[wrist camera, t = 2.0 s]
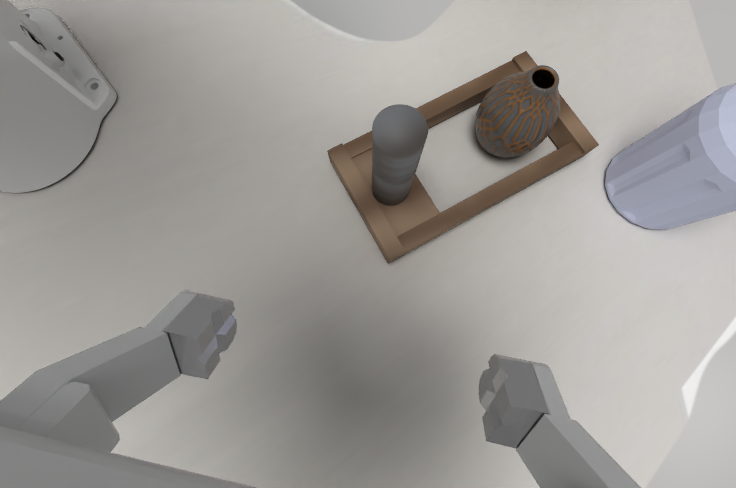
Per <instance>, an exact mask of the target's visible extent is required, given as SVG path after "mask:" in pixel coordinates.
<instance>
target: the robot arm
mask: <svg viewBox="0 0 736 488" xmlns="http://www.w3.org/2000/svg"><path fill="white" fill-rule="evenodd" d="M116 98H117V94H116V92H115V90H114V89H113V88H112V86H111V85H110V84H109V82H108V81H107V80H106V78H105V77H104V76H103V74H102V73H101V72H100V71H99V69H98V68H97V67H96V65H95V64H94V63H93V61H92V60H91V59H90V57H89V56H88V55H87V53H86V52H85V51H84V49H83V48H82V47H81V46H80V44H79V43H78V42H77V40H76V39H75V38H74V36H73V35H72V34H71V32H70V31H69V30H68V28H67V27H66V26H65V24H64V23H63V22H62V21H61V19H60V18H59V17H58V16H57V15H55V14H54V13H53V12H52V11H50V10H49V9H41V8H33V9H24V10H19V9H17V8H16V7H15V6H14V5H13V4H11V3H10V2H9V1H8V0H0V191H2V192H9V193H22V192H29V191H34V190H38V189H41V188H44V187H46V186H49V185H51V184H53V183H55V182H57V181H59V180H60V179H62V178H63V177H65V176H66V175H68V174H69V173H70V172H71V171H73V170H74V169H75V168H76V167H77V166H78V165H79V164H80V163H81V162H82V160H83V159H84V158H85V157H86V155H87V154H88V152H89V151H90V149H91V147H92V146H93V144H94V141H95V139H96V136H97V133H98V130H99V126H100V124H101V121H102V119H103V117H104V116H105V115H106V114H107V112H108V111H109V110H110V109H111V107H112V106H113V104H114V103H115V101H116ZM234 310H235V308H234V303H233V301H230V300H226V299H222V298H218V297H213V296H209V295H205V294H199V293H195V292H191V291H183V292H181V293H179V294H178V295H177V296H176V297H175V298H174V299H173V300H172V301H171V302H170V303H169V304H168V305H167V306H166V307H165V308H164V309H163V310H162V311H161V312H160V313H159V314H158V315H157V316H156V317H155V318H154V319H153V320H152V321H151V322H150V323H149V324H148V325H147V326H146V327H145V328H142V327H139V328H136V329H134V330H132V331H129V332H127V333H125V334H122V335H120V336H118V337H115V338H113V339H111V340H108V341H106V342H103V343H101V344H99V345H96V346H94V347H92V348H89V349H87V350H85V351H82V352H80V353H78V354H75V355H73V356H71V357H68V358H66V359H64V360H61V361H59V362H57V363H54V364H52V365H49V366H47V367H45V368H42V369H40V370H38V371H36V372H35V373H34V374H32V375H31V376H30V377H29V378H28V379H26V380H25V381H24V382H23V383H22V384H20V385H19V386H18V387H17V388H15V389H14V390H13V391H12V392H11V393H9V394H8V395H7V396H6V397H5V398H3V399H2V400H1V401H0V488H255V487H251V486H247V485H243V484H239V483H235V482H231V481H226V480H222V479H218V478H214V477H210V476H206V475H202V474H198V473H193V472H189V471H185V470H181V469H177V468H173V467H169V466H164V465H160V464H156V463H152V462H148V461H144V460H140V459H136V458H131V457H127V456H123V455H119V454H115V453H111V451H112V450H113V448H114V447H115V446H116V444H117V443H118V442H119V440H120V437H119V433H118V432H117V430H116V428H115V427H114V425H113V423H112V422H113V421H114V420H116V419H117V418H118V417H120V416H121V415H123V414H124V413H126V412H127V411H129V410H130V409H132V408H133V407H135V406H136V405H138V404H139V403H141V402H142V401H144V400H145V399H147V398H148V397H150V396H151V395H152V394H154V393H155V392H157V391H158V390H160V389H161V388H163V387H164V386H166V385H167V384H169V383H170V382H172V381H173V380H175V379H176V378H178V377H179V376H180V374H184V375H189V376H194V377H200V378H205V379H208V378H209V377H210V375H211V374H212V372H213V371H214V369H215V368H216V366H217V365H218V363H219V361H220V355H219V353H221V352H223V351H225V350H226V349H228V348H229V346H230V345H231V343H232V341H233V339H234V336H235V334H236V328H237V322H236V319H235V318H234V316H233V315H232V312H233V311H234ZM488 363H489V369H487V370H485V371H483V373H482V375H481V378H480V382H479V399H480V403H481V405H482V406H483V407H484V409H485V410H486V412H485V414H484V416H483V417H482V418H483V424H484V430H485V436H486V441H488V442H492V443H496V444H500V445H504V446H508V447H512V448H516V451H517V452H518V454H519V455H520V457H521V459H522V460H523V462H524V463H525V465H526V466H527V468H528V470H529V471H530V473H531V474H532V476H533V477H534V479H535V480H536V482H537V484H538V485H539V487H540V488H641V487H640V486H639V485H638V484H637V483H636V482H635V481H634V480H633V479H632V478H631V477H630V476H629V475H628V474H627V473H626V472H625V471H624V470H623V469H622V468H621V466H620V465H619V464H618V463H617V462H616V461H615V460H614V459H613V458H612V457H611V456H610V455H609V454H608V453H607V452H606V451H605V450H604V449H603V448H602V447H601V446H600V445H599V444H598V443H597V442H596V441H595V440H594V439H593V438H592V436H591V435H590V434H589V433H588V432H587V431H586V430H585V429H584V428H583V427H582V426H581V425H580V424H579V423H578V422H577V421H575V420H571V419H570V417H569V414H568V412H567V409H566V407H565V404H564V402H563V399H562V397H561V394H560V392H559V389H558V387H557V384H556V382H555V380H554V377H553V375H552V372H551V370H550V368H549V367H548V366H547V365H546V364H541V363H536V362H531V361H527V360H522V359H517V358H511V357H506V356H501V355H496V354H494V355H493V356H491V358H490V360H489V362H488Z"/></svg>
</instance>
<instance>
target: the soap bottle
mask: <svg viewBox="0 0 736 488" xmlns="http://www.w3.org/2000/svg"><path fill="white" fill-rule="evenodd" d="M605 187H606V190H607V194H608V197H609V200H610V201H611V203H612V204H613V205H614V207H615V208H616V210H617V211H618V212H619V213H620V214H621V215H622V216H624V217H625V218H626V219H628V220H629V221H630V222H631V223H634V224H637V225H639V226H642V227H644V228H647V229H661V230H667V229H670V228H674V227H678V226H681V225H685V224H689V223H692V222H696V221H700V220H703V219H707V218H711V217H714V216H718V215H721V214H725V213H729V212H732V211H736V83H735V84H732V85H729V86H725V87H722V88H720V89H718V90H717V91H715V92H714V93H712V94H711V95H709V96H707V97H706V98H704V99H703V100H701V101H700V102H698V103H696V104H695V105H693V106H692V107H690V108H689V109H687V110H685V111H684V112H682V113H681V114H679V115H678V116H676V117H674V118H673V119H671V120H670V121H668V122H667V123H665V124H663V125H662V126H660V127H659V128H657V129H656V130H654V131H652V132H651V133H649V134H648V135H646V136H645V137H643V138H641V139H640V140H638V141H637V142H635V143H634V144H632V145H630V146H629V147H627V148H626V149H624V150H623V151H622V152H620V153H619V154H618V155H616V156H615V157H614V158H613V160H612V162H611V163H610V165H609V167H608V169H607V171H606V179H605Z"/></svg>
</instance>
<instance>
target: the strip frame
mask: <svg viewBox="0 0 736 488" xmlns="http://www.w3.org/2000/svg"><path fill="white" fill-rule="evenodd" d="M534 67H537V64H536V63H535V62H534V60H533V59H532V58H531V57H530V55H529V54H528V53H527V51H525V52H523V53H521V54H519V55H517V56H515V57H513V59H512V61H510V62H508V63H506V64H504V65H502V66H500V67H498V68H496V69H494V70H492V71H490V72H488V73H486V74H484V75H482V76H480V77H478V78H476V79H474V80H472V81H470V82H468V83H466V84H464V85H462V86H460V87H458V88H456V89H454V90H452V91H450V92H448V93H446V94H444V95H442V96H440V97H438V98H436V99H434V100H432V101H430V102H428V103H426V104H424V105H422V106H420V107H418V108H416V109H415V108H413V107H411V106H408V105H392V106H389V107H387V108H385V109H383V110H382V111H381V112H380V113H379V114H378V115H377V116H376V118H375V120H374V122H373V128H372V131H370V132H368V133H366V134H364V135H362V136H360V137H358V138H356V139H354V140H352V141H350V142H348V143H346V144H344V145H343V144H340V145H338V146H336V147H334V148H332V149H330V150H328V154H329V158H330V162H331V164H332V166H333V167H334V169H335V171H336V173H337V174H338V176H339V178H340V180H341V181H342V183H343V185H344V187H345V188H346V190H347V192H348V194H349V195H350V197H351V199H352V201H353V202H354V204H355V206H356V208H357V209H358V211H359V213H360V215H361V216H362V218H363V220H364V222H365V224H366V225H367V227H368V229H369V231H370V232H371V234H372V236H373V238H374V239H375V241H376V243H377V245H378V246H379V248H380V250H381V252H382V253H383V255H384V257H385V259H386V260H387V262H388V264H389V263H390V262H392V261H394V260H396V259H398V258H400V257H401V256H403V255H405V254H407V253H409V252H410V251H412V250H414V249H416V248H418V247H420V246H421V245H423V244H425V243H427V242H429V241H430V240H432V239H434V238H436V237H438V236H440V235H441V234H443V233H445V232H447V231H449V230H450V229H452V228H454V227H456V226H458V225H460V224H461V223H463V222H465V221H467V220H469V219H470V218H472V217H474V216H476V215H478V214H480V213H481V212H483V211H485V210H487V209H489V208H490V207H492V206H494V205H496V204H498V203H500V202H501V201H503V200H505V199H507V198H509V197H510V196H512V195H514V194H516V193H518V192H520V191H521V190H523V189H525V188H527V187H529V186H530V185H532V184H534V183H536V182H538V181H540V180H541V179H543V178H545V177H547V176H549V175H550V174H552V173H554V172H556V171H558V170H559V169H561V168H563V167H565V166H567V165H569V164H570V163H572V162H574V161H576V160H578V159H579V158H581V157H583V156H584V155H586V154H587V153H589V152H590V151H591V150H593V149H594V148H595V147H597V146H598V145H599V144H598V143H597V142H596V140H595V139H594V138H593V136H592V135H591V134H590V133H589V131H588V130H587V129H586V127H585V126H584V125H583V124H582V122H581V121H580V120H579V118H578V117H577V116H576V115H575V113H574V112H573V111H572V109H571V108H570V107H569V106H568V104H567V103H566V102H565V100H564V99H563V98H562V97H561V95H560V94H559V96H560V111H559V115H558V118H557V121H556V123H555V125H554V127H553V129H552V130H551V132H550V133H549V136H550V138H551V139H552V140H553V142H554V143H555V144H556V146H557V147H558V148H559V149H558V150H556V151H554V152H552V153H550V154H548V155H547V156H545V157H543V158H541V159H539V160H537V161H535V162H534V163H532V164H530V165H528V166H526V167H524V168H523V169H521V170H519V171H517V172H515V173H513V174H511V175H510V176H508V177H506V178H504V179H502V180H500V181H499V182H497V183H495V184H493V185H491V186H489V187H488V188H486V189H484V190H482V191H480V192H478V193H476V194H475V195H473V196H471V197H469V198H467V199H465V200H464V201H462V202H460V203H458V204H456V205H454V206H453V207H451V208H449V209H447V210H445V211H443V212H441V213H439V211H438V210H437V208H436V206H435V205H434V203H433V202H432V200H431V198H430V197H429V195H428V194H427V192H426V190H425V189H424V187H423V186H422V184H421V182H420V181H419V179H418V178H417V176H416V174H415V172H416V169H417V166H418V163H419V159H420V156H421V153H422V150H423V147H424V144H425V141H426V138H427V134H428V128H430V127H432V126H434V125H436V124H438V123H440V122H442V121H444V120H446V119H448V118H450V117H452V116H453V115H455V114H457V113H459V112H461V111H463V110H465V109H467V108H469V107H471V106H473V105H475V104H477V103H479V102H481V101H482V100H483V99H484V97H485V96H486V94H487V93H488V92H489V91H490V90H491V89H492V87H494V86H495V85H496V84H497V83H498V82H499V81H501V80H502V79H504V78H505V77H507V76H509V75H512V74H514V73H518V72H523V71H529V70H531V69H532V68H534Z"/></svg>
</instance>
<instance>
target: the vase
mask: <svg viewBox="0 0 736 488" xmlns="http://www.w3.org/2000/svg"><path fill="white" fill-rule="evenodd" d="M558 84H559V77H558V74H557V73H556V71H555V70H554V69H552V68H551V67H548V66H543V65H542V66H537V67H534V68H532V69H531V70H529V71H523V72H518V73H514V74H512V75H509V76H507V77H505V78H504V79H502V80H501V81H499V82H498V83H497V84H496V85H495V86H494V87H492V89H491V90H490V91H489V92H488V93H487V94H486V96H485V97H484V99H483V100H482V102H481V104H480V106H479V109H478V111H477V115H476V120H475V131H476V136H477V139H478V141H479V143H480V144H481V146H482V147H483V148H484V149H485V150H486V151H488V152H489V153H491V154H493V155H495V156H499V157H506V158H508V157H516V156H519V155H522V154H525V153H527V152H529V151H531V150H532V149H534V148H535V147H536V146H538V145H539V144H540V143H541V142H542V141H543V140H544V139H545V138H546V137H547V136H548V135H549V133H550V132H551V130H552V129H553V127H554V125H555V123H556V121H557V118H558V115H559V111H560V96H559V91H558Z"/></svg>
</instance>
